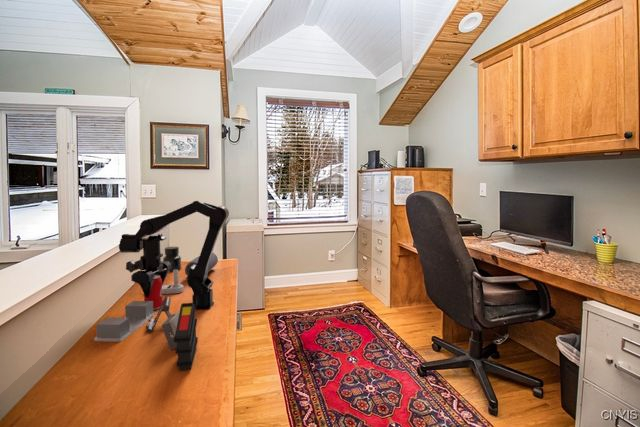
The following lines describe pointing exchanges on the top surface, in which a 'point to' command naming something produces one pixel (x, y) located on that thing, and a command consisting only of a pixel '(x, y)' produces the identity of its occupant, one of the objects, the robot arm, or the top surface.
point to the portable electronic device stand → (163, 308)
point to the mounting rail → (134, 324)
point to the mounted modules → (123, 319)
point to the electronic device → (175, 287)
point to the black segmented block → (186, 336)
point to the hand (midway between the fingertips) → (153, 293)
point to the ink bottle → (173, 257)
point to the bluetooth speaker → (211, 264)
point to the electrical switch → (171, 329)
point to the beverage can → (156, 293)
